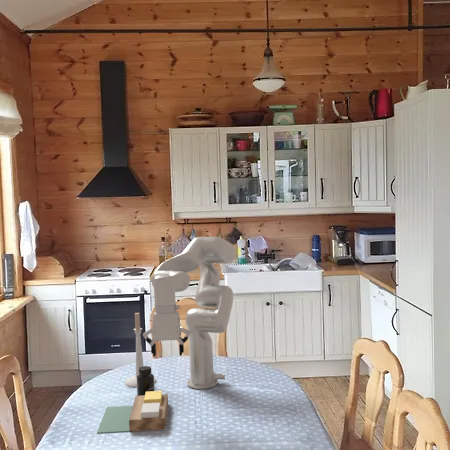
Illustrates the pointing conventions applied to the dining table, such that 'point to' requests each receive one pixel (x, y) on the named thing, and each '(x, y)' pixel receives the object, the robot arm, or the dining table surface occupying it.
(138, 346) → the candlestick
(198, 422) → the dining table surface
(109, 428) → the mat
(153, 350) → the robot arm
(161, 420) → the board
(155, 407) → the white flat block
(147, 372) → the supplement bottle
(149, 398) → the yellow rectangular block
